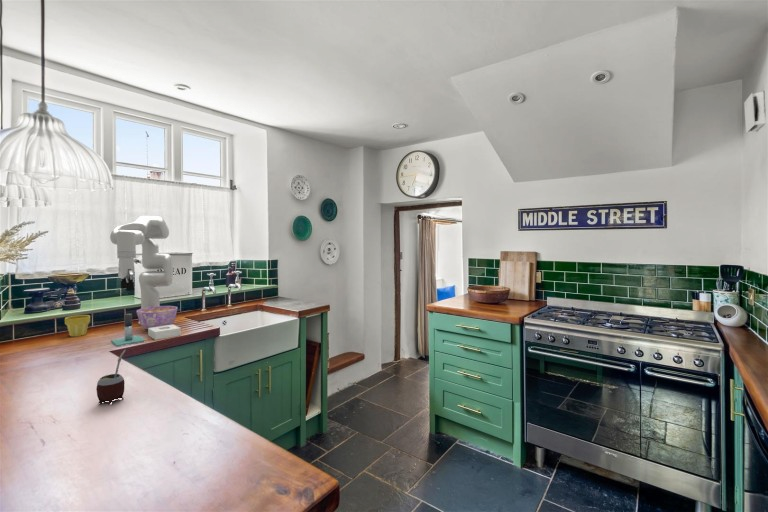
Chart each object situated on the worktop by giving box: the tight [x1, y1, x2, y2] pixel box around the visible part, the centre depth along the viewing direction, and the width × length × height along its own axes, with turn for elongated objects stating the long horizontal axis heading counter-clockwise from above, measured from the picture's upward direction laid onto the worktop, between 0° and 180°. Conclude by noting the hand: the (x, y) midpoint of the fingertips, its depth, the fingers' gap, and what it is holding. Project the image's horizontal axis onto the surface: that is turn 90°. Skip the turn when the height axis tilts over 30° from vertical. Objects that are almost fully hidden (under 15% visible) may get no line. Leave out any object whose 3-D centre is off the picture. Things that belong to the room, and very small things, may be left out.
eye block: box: [147, 323, 182, 341], centre depth 192 cm, size 12×12×4 cm
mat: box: [110, 335, 147, 347], centre depth 180 cm, size 12×12×1 cm
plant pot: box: [64, 314, 91, 337], centre depth 192 cm, size 10×10×10 cm
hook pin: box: [123, 313, 133, 341], centre depth 180 cm, size 3×3×13 cm
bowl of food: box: [135, 305, 178, 330], centre depth 205 cm, size 20×20×12 cm
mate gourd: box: [95, 349, 127, 404], centre depth 114 cm, size 8×8×15 cm
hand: (127, 289), depth 179 cm, fingers open, 9 cm apart
